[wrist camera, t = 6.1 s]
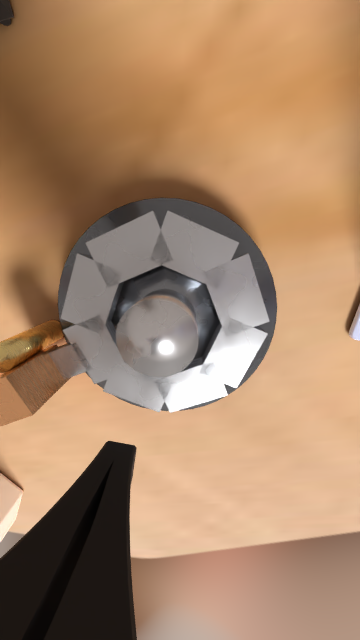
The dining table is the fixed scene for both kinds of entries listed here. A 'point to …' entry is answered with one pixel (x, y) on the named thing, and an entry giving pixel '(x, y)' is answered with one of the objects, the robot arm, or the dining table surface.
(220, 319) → the grey handled ring
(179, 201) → the post base
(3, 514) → the jar
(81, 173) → the dining table surface
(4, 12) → the figurine
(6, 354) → the dowel pin
